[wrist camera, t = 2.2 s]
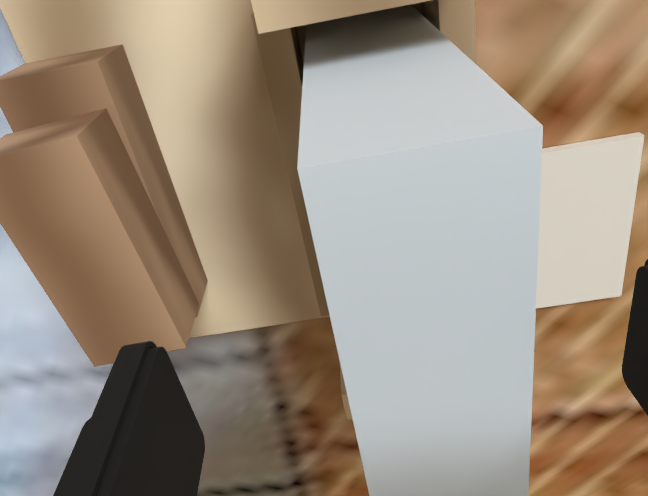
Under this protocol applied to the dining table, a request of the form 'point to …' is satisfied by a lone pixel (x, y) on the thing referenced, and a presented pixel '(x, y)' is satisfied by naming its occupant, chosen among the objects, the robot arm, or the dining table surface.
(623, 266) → the felt pad
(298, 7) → the rack
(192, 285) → the block
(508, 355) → the white rectangular block
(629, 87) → the dining table surface
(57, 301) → the offcut top
